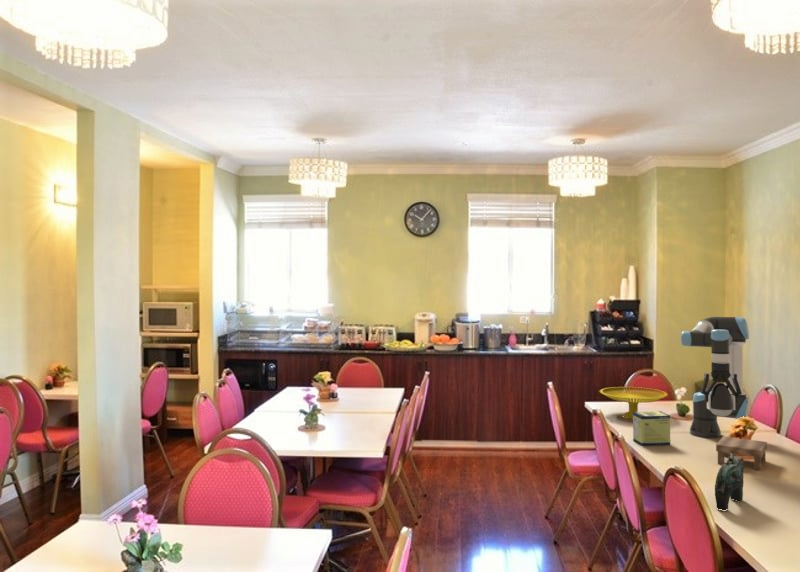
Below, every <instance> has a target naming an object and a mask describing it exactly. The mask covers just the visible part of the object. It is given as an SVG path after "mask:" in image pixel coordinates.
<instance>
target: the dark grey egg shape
mask: <svg viewBox="0 0 800 572" xmlns="http://www.w3.org/2000/svg"><path fill="white" fill-rule="evenodd" d="M728 388H729V387H728V386H727V385H725V384H724V382H717V383H716V384H715V385H714V387H713V389H712V390H711V391H712V392H711V395H710V399H711V410H710V411H711V412H712V413H713V414H714V415H717V416H728V415H730V414H731V412H732V409H733V402H732V397H731V394H730V392H729V390H728Z"/></svg>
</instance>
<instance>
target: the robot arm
mask: <svg viewBox="0 0 800 572" xmlns="http://www.w3.org/2000/svg"><path fill="white" fill-rule="evenodd" d="M749 338H750V333H749V327H748V323H747V319H746V318H744V317H739V316H734V317H733V316H711V317H706V318H703V319H701V320H699V321H697V322H696V323H695V325H694V328H692V330H682V332H681V334H680V341H681V342H680V343H681V345H682V346H684V347H698V348H699V347H700V348H701V347H702V348H711V353H710V355H711V357H710V358H711V372H709V373H706V372H704V376H703V377H704V379H703V382H702V386H701V388H700V391H699V392H695V393H693V396H692V397H693V398H692V411H693V412H692V415H693V419H692V422H691V425H690V428H689V433H690V434H691V435H692V436H696V437H701V438H710V439H711V438H712V439H713V438H719V437H721V436H722V431H721V429H720V425H719V422H718V418H727V419H728V418H729V419H735V420H739V419H738V418H740V417H743V416H744V417H746V418H747V415H748V411H749V406H750V398H749V397H748V396H747V393H746V392H745V391H744V390H743V389H744V387H743V385H744V384H743V382H744V381H743V380H744V379H743V374H744V373H743V370H744V369H743V367H744V365H743V360H744V359H743V346H744V345H745V344H746V341H747V340H749ZM710 378H712V379H711V380H710ZM709 381H710V383H709ZM718 383H723V384H725V385H727V386H728V387H729V388H728V390H729V392H730V394H731V397H732V402H733V409H732V412H731V414H730V415H728V416H717V415H714V414H713V413H712V412H711V411H710V410H711V399H710V395H711V392H712V389H713V387H714V386H715V385H716V384H718Z"/></svg>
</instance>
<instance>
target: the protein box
mask: <svg viewBox="0 0 800 572" xmlns="http://www.w3.org/2000/svg"><path fill="white" fill-rule="evenodd" d="M632 429H633V430H632V437H633V438H632V441H633V442H635V443H636V444H638V445H640V446H642V447H643V446H644V447H645V446H646V447H647V446H648V447H649V446H651V447H653V446H654V447H655V446H671V415H670V414H667V413H665V412H663V411H662V410H661V411H660V410H655V411H638V412H633V419H632Z"/></svg>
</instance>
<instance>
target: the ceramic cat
mask: <svg viewBox="0 0 800 572" xmlns="http://www.w3.org/2000/svg"><path fill="white" fill-rule="evenodd" d="M731 452H732V451H729V453H728V455H730V457H726V458H727V460H726V462H725V463H724V464H723V465H721V466H720V468H719V469H718V472H717V474H716V478H715V484H714V496H715V498H714V499H715V502H716V509H717V508H718V509H722V510H726V509H728V510H729V503H730V500H731V499H734V500H737V501H740V502H741V501H743V498H744V497H743V496H744V490H743V489H744V472H745V460H744V458H743V457H740V456H738V454H735V453H733V452H732V453H731ZM731 454H732V455H731ZM737 501H736V502H737Z"/></svg>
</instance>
